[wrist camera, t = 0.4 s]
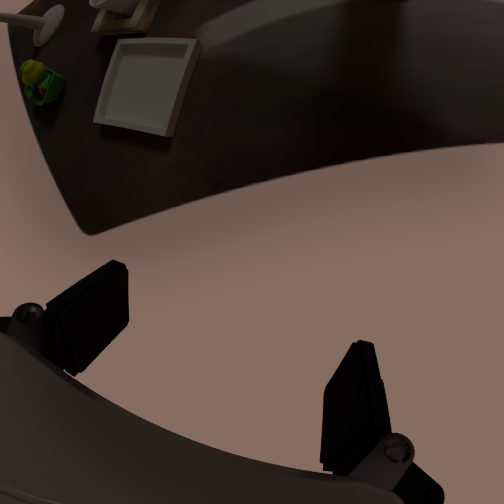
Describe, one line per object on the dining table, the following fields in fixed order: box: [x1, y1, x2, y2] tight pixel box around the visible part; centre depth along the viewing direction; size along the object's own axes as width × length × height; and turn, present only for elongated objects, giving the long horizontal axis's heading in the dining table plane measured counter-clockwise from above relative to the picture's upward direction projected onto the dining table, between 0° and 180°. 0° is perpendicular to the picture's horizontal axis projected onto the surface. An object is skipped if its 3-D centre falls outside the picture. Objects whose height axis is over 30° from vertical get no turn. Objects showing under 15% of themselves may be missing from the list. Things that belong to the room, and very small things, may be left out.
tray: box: [93, 38, 203, 137], centre depth 35 cm, size 16×16×2 cm
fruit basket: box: [20, 60, 66, 106], centre depth 33 cm, size 11×9×11 cm
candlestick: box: [0, 5, 64, 47], centre depth 19 cm, size 13×13×30 cm
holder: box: [91, 0, 162, 36], centre depth 29 cm, size 12×12×4 cm
